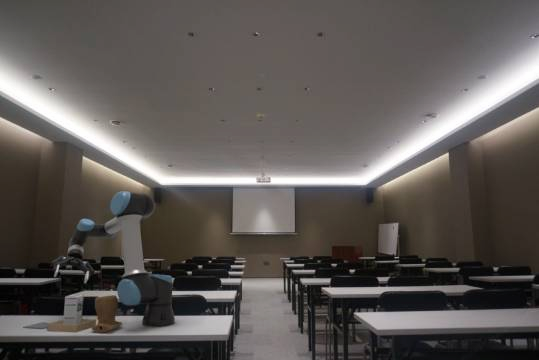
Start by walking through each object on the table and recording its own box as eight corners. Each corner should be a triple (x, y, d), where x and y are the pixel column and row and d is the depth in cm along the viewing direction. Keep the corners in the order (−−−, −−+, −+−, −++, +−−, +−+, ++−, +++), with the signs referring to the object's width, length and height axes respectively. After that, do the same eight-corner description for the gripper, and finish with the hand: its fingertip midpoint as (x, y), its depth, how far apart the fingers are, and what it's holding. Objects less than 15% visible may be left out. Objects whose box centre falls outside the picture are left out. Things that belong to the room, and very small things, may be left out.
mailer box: (112, 320, 190) (112, 314, 190) (76, 332, 164) (77, 324, 165) (85, 319, 192) (86, 313, 193) (46, 330, 167) (47, 323, 168)
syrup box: (75, 329, 169) (77, 296, 172) (62, 329, 169) (65, 296, 172) (81, 327, 175) (84, 294, 177) (68, 327, 175) (71, 294, 177)
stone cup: (100, 326, 177) (102, 293, 179) (125, 326, 176) (127, 293, 179) (83, 333, 162) (86, 297, 164) (110, 333, 161) (112, 297, 164)
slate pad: (61, 323, 182) (61, 323, 182) (43, 328, 171) (43, 327, 171) (41, 323, 184) (41, 322, 184) (22, 327, 173) (22, 327, 173)
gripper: (96, 266, 204) (95, 289, 185) (46, 255, 192) (39, 278, 174) (102, 254, 203) (101, 277, 184) (52, 242, 191) (45, 264, 172)
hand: (71, 277), depth 179 cm, fingers open, 13 cm apart
